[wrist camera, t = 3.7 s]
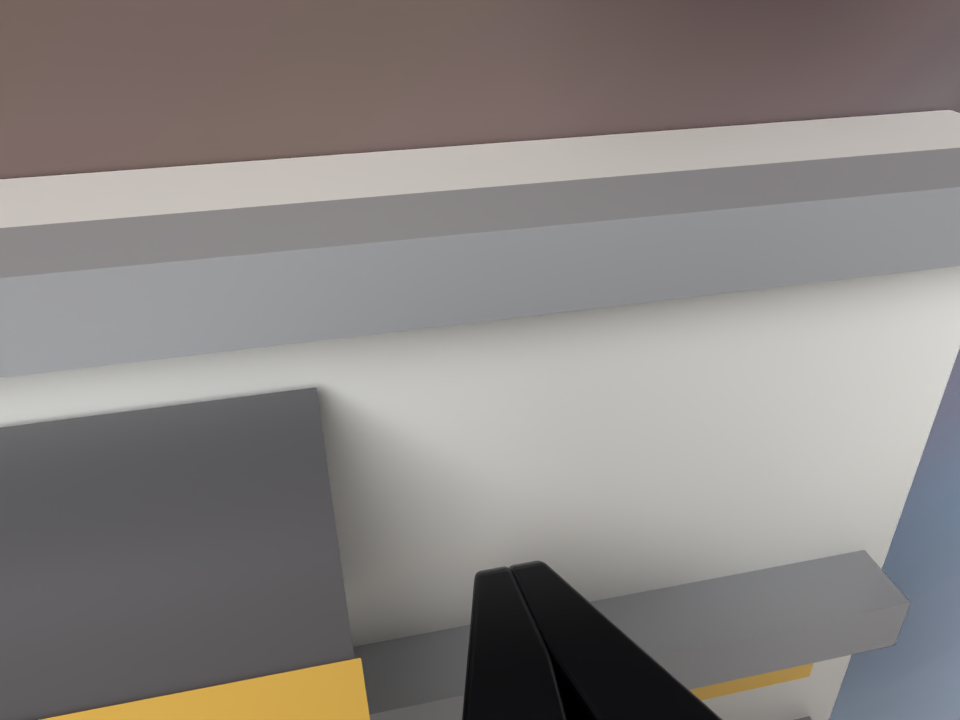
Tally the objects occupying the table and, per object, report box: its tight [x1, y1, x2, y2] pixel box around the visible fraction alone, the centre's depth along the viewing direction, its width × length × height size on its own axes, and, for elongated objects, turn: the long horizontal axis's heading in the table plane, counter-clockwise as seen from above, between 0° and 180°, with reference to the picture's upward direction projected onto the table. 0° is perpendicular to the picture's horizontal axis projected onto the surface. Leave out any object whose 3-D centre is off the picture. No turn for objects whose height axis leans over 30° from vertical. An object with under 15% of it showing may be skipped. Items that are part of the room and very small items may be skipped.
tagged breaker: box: [0, 387, 370, 720], centre depth 8 cm, size 4×4×5 cm
